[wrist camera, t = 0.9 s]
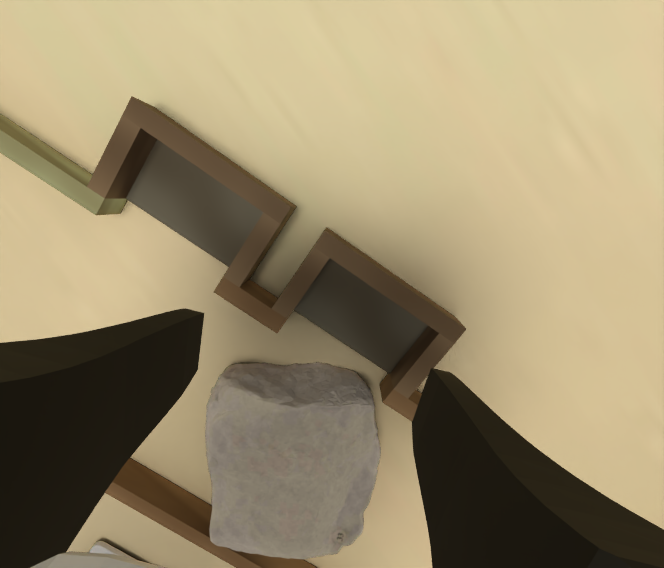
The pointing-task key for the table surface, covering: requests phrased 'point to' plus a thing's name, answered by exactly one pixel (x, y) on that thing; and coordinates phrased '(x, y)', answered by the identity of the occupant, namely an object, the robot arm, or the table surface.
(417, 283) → the table surface
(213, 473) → the stone block
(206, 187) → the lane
